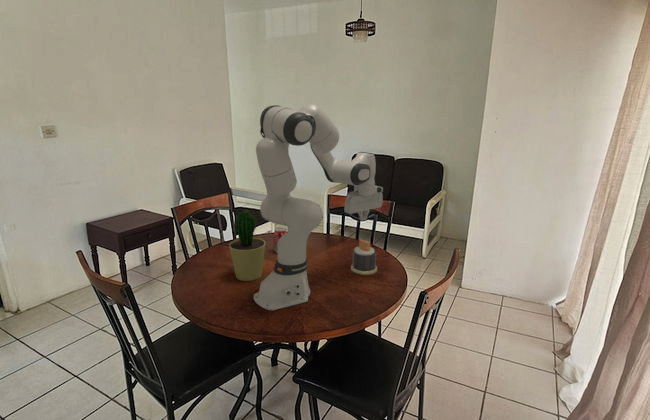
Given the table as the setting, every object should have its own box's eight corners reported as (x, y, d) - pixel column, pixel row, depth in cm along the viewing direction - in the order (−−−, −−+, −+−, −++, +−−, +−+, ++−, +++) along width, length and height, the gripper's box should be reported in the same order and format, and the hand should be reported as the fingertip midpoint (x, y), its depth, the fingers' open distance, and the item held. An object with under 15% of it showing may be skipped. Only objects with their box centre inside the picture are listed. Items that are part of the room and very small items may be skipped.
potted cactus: (259, 284, 153) (256, 215, 145) (224, 281, 156) (219, 213, 148) (271, 269, 167) (269, 206, 159) (240, 266, 170) (236, 204, 162)
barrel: (363, 277, 160) (364, 259, 158) (345, 268, 169) (345, 251, 167) (382, 270, 167) (383, 253, 165) (363, 262, 176) (364, 245, 174)
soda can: (289, 249, 192) (288, 227, 188) (286, 254, 185) (285, 231, 182) (275, 248, 192) (275, 226, 189) (272, 253, 185) (271, 231, 182)
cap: (364, 263, 160) (364, 246, 158) (350, 257, 167) (350, 240, 165) (378, 258, 166) (379, 241, 164) (364, 252, 173) (364, 236, 170)
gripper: (351, 193, 150) (350, 225, 154) (385, 187, 163) (384, 217, 166) (341, 191, 155) (340, 222, 159) (375, 185, 167) (374, 214, 171)
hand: (363, 219), depth 163 cm, fingers closed
